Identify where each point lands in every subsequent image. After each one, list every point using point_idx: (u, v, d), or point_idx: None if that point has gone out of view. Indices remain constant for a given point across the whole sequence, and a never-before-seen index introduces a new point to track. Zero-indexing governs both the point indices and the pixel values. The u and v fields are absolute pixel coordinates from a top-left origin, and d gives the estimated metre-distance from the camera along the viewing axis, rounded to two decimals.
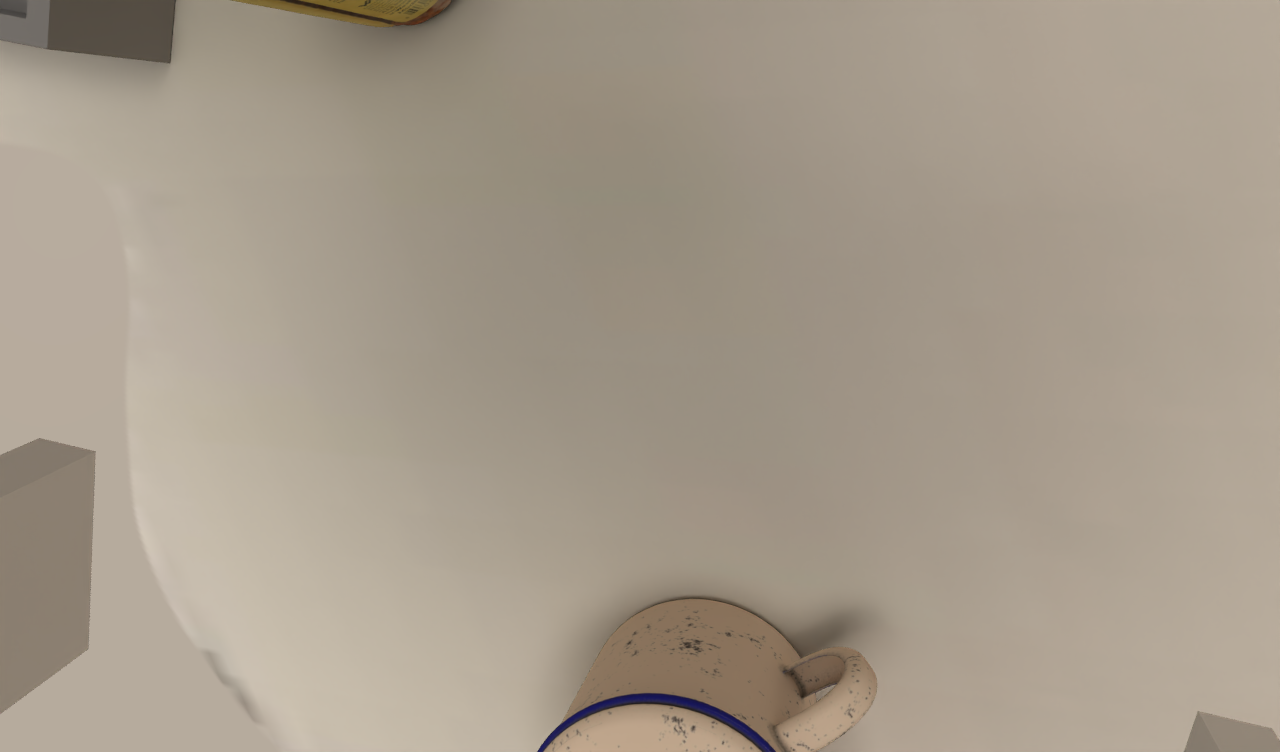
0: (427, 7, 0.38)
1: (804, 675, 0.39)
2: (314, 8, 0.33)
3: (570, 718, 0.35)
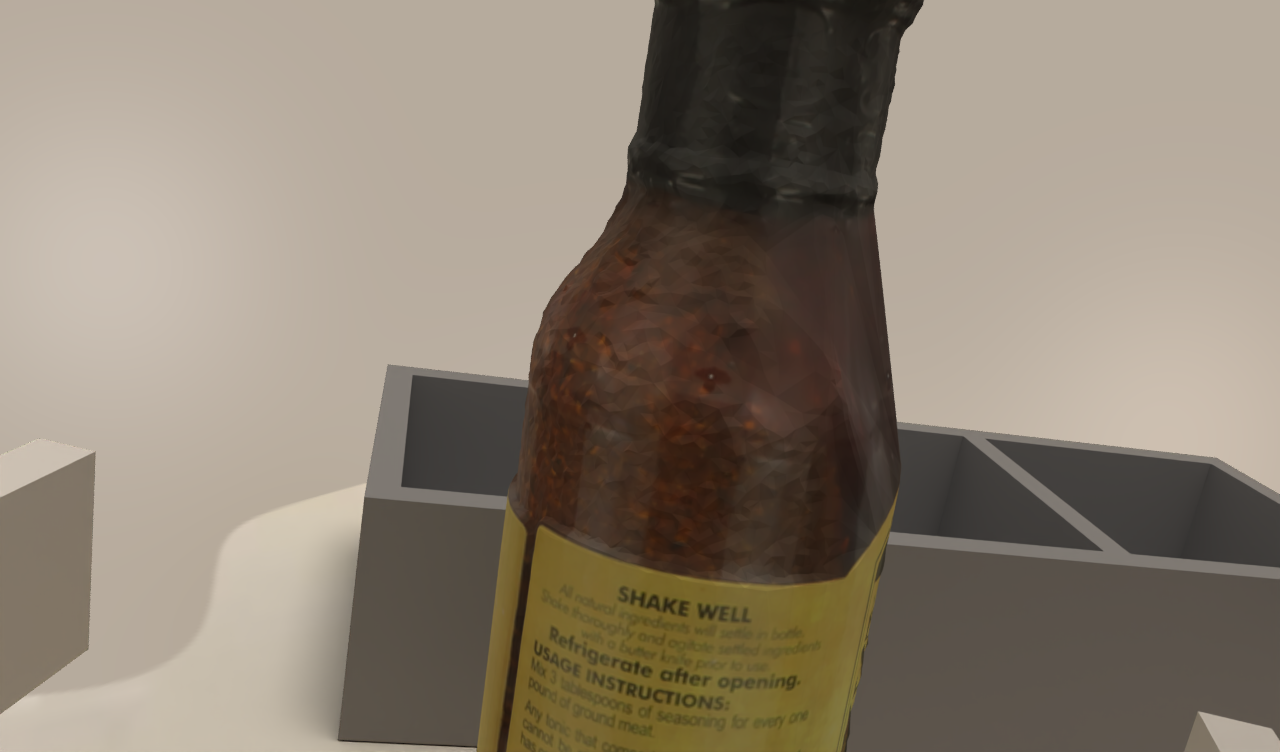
0: None
1: None
2: (504, 701, 0.18)
3: None
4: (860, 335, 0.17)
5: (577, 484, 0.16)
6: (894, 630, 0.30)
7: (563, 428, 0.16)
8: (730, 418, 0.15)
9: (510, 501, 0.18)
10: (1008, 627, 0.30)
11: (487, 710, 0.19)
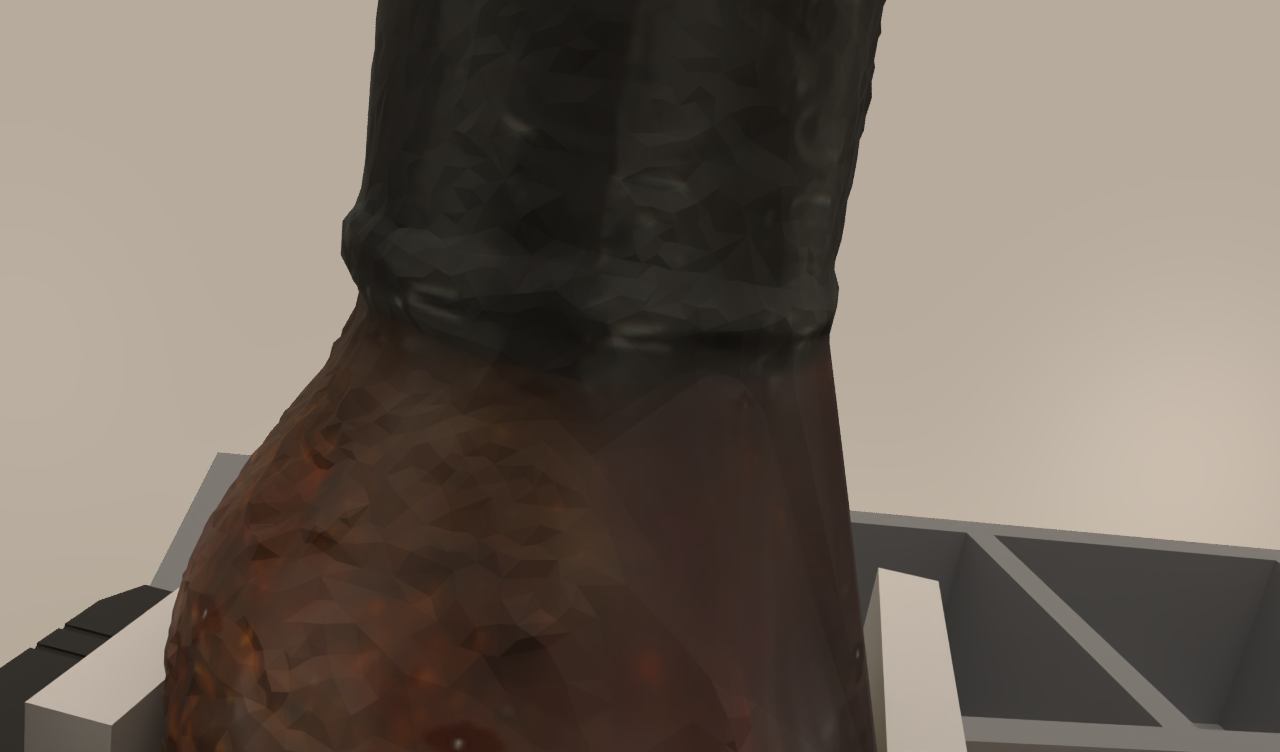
0: None
1: None
2: None
3: None
4: (800, 600, 0.08)
5: None
6: None
7: None
8: None
9: None
10: None
11: None
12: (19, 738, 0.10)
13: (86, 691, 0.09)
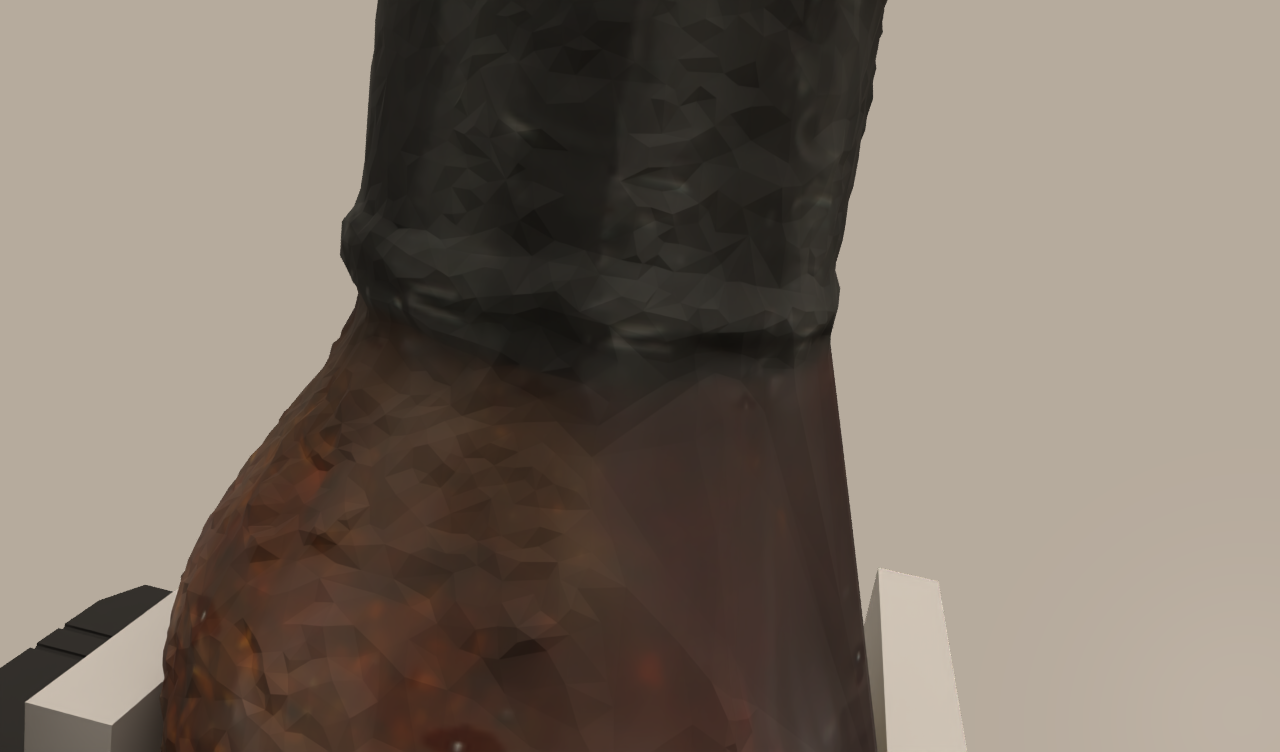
0: None
1: None
2: None
3: None
4: (801, 602, 0.08)
5: None
6: None
7: None
8: None
9: None
10: None
11: None
12: (19, 738, 0.10)
13: (86, 691, 0.09)
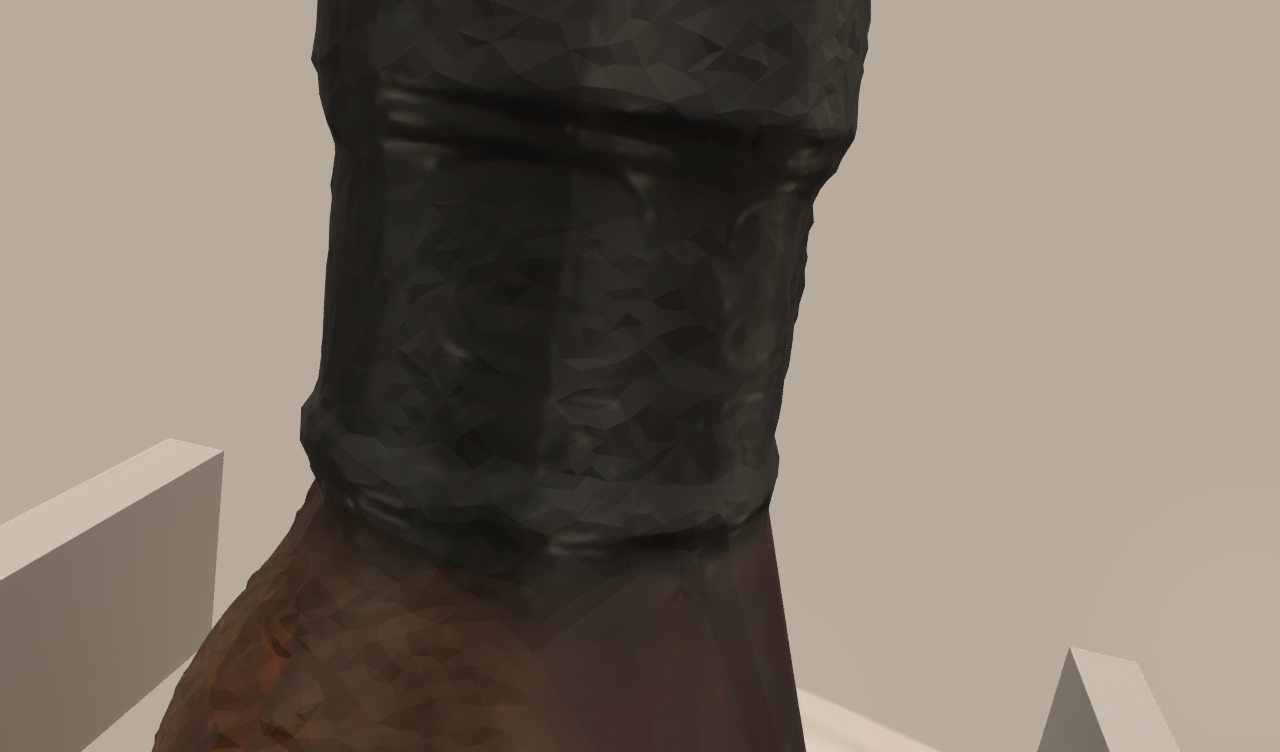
0: None
1: None
2: None
3: None
4: None
5: None
6: None
7: None
8: None
9: None
10: None
11: None
12: None
13: None
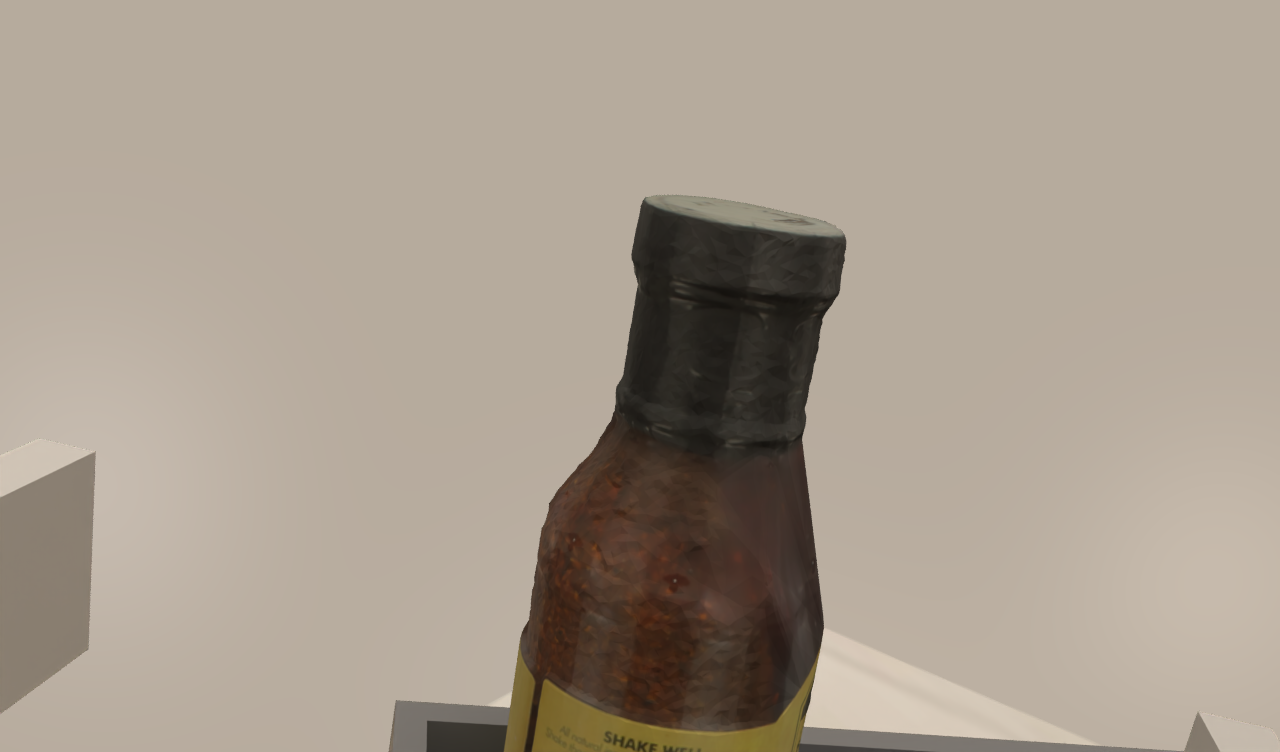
0: None
1: None
2: None
3: None
4: (790, 538, 0.22)
5: (574, 652, 0.22)
6: None
7: (565, 608, 0.22)
8: (688, 611, 0.21)
9: (522, 653, 0.23)
10: None
11: None
12: None
13: None
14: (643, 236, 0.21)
